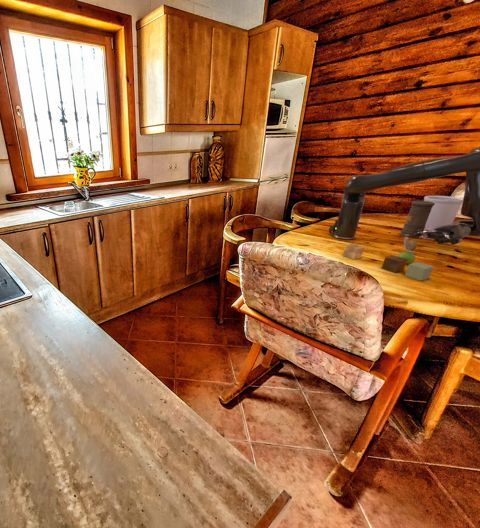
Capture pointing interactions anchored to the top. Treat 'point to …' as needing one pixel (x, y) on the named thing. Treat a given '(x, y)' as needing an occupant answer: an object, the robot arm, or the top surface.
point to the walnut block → (394, 263)
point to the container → (417, 217)
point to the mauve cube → (353, 251)
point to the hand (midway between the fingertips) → (426, 239)
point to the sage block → (419, 271)
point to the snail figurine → (408, 250)
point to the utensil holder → (442, 211)
